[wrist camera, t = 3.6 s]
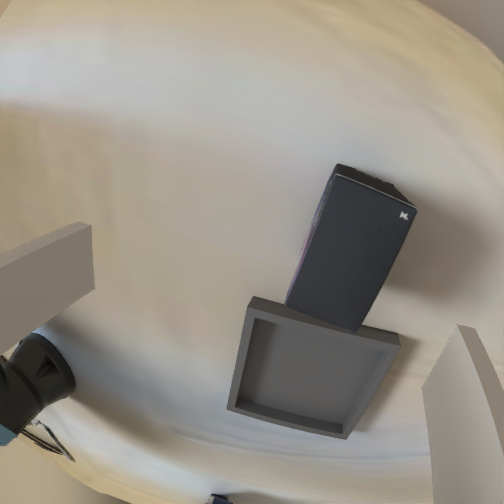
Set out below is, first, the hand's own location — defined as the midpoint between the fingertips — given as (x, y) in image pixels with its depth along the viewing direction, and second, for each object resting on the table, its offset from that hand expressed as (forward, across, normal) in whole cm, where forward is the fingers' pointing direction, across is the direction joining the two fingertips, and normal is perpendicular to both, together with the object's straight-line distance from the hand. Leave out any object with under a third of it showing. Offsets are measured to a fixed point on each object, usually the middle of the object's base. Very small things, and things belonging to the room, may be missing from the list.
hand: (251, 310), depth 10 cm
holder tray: (+22, -4, +21) cm, 31 cm away
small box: (+23, -3, +2) cm, 23 cm away
